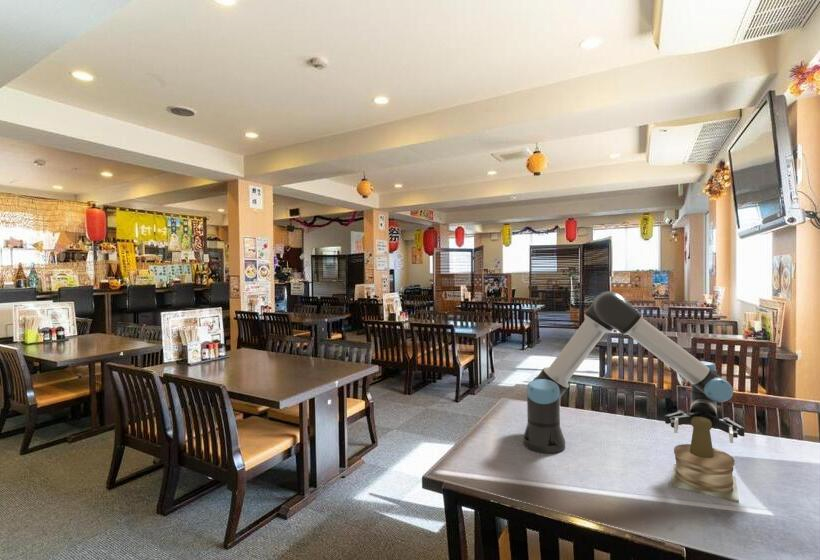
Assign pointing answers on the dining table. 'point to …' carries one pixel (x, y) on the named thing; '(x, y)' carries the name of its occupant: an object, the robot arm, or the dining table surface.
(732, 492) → the stack of pancakes
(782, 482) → the dining table surface
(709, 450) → the cork
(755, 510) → the dining table surface
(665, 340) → the robot arm
